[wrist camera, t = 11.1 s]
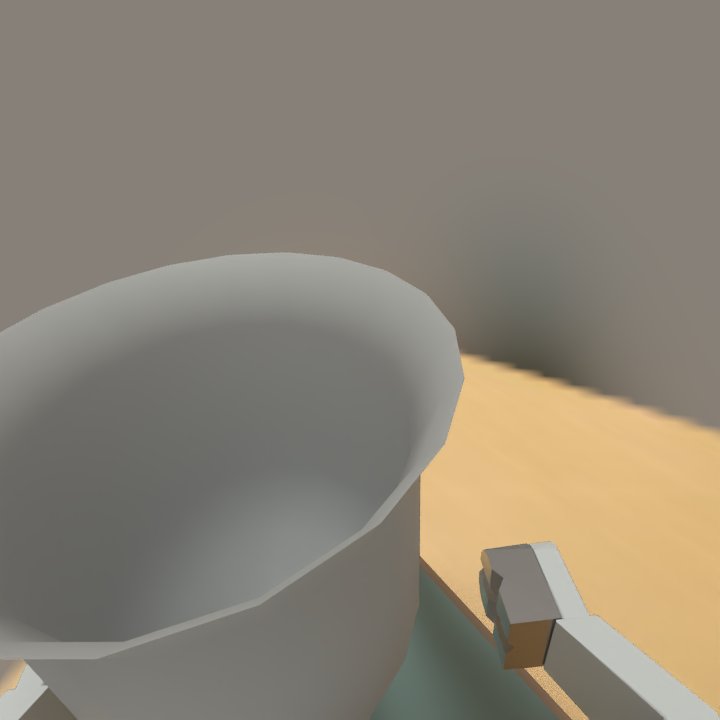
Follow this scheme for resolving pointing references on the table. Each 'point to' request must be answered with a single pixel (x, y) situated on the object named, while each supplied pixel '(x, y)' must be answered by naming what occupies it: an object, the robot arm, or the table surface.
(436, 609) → the plinth
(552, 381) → the table surface
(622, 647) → the robot arm
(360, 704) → the chalice
